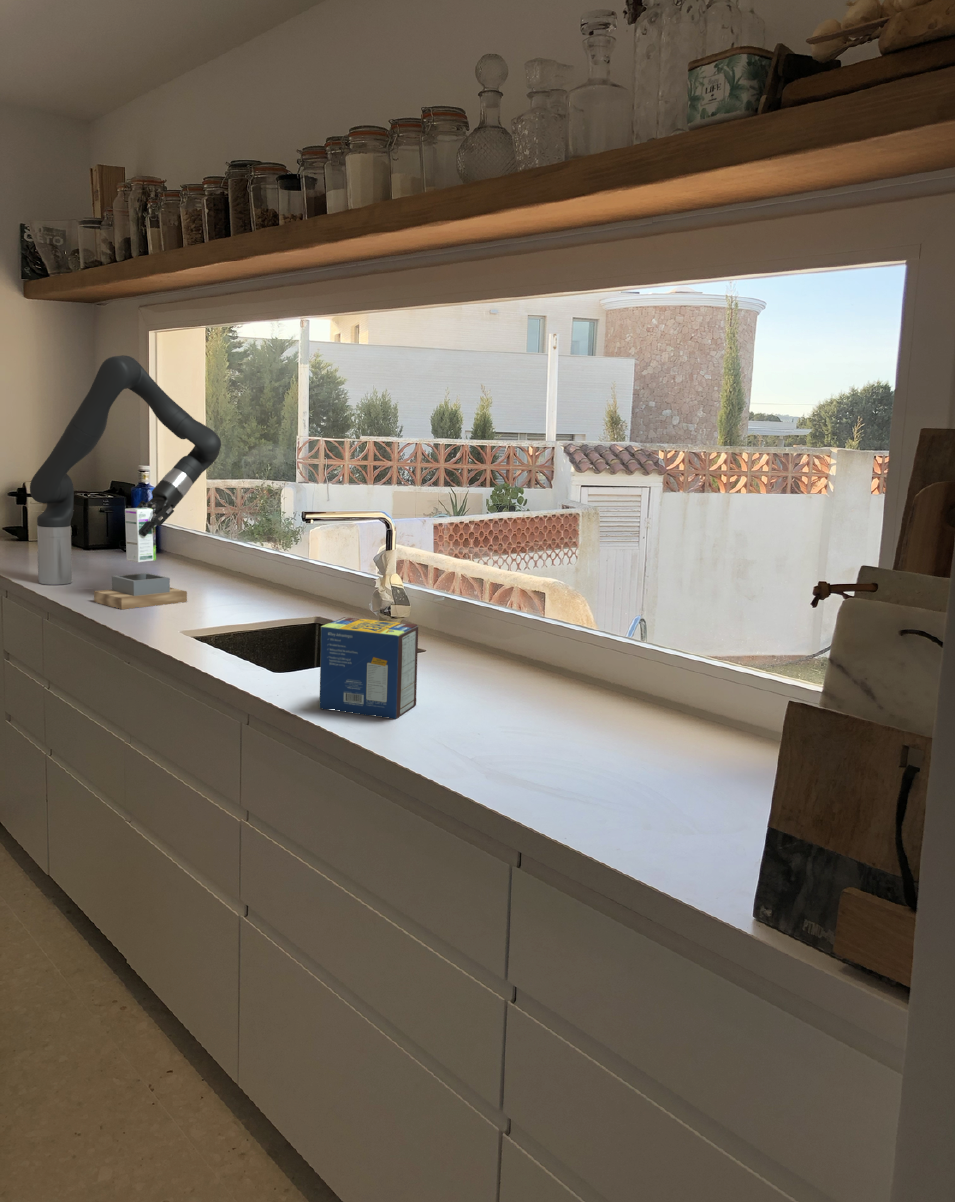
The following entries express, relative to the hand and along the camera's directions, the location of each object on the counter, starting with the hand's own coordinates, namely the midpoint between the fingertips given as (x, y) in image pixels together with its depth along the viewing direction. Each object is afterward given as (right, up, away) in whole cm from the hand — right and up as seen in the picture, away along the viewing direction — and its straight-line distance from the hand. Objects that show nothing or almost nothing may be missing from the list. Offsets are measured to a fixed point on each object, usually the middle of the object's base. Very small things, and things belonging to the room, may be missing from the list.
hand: (134, 532), depth 273 cm
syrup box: (+1, -8, +3) cm, 8 cm away
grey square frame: (0, -16, +4) cm, 16 cm away
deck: (0, -19, +5) cm, 19 cm away
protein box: (+73, -38, -88) cm, 121 cm away
